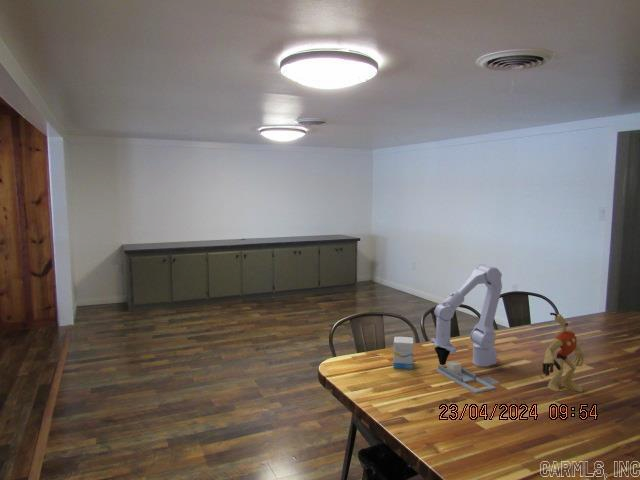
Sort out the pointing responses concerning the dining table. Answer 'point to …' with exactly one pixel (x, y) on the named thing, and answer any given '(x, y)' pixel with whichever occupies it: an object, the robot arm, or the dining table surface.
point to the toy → (563, 357)
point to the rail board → (465, 379)
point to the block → (454, 367)
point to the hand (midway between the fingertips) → (442, 364)
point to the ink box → (403, 353)
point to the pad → (489, 380)
